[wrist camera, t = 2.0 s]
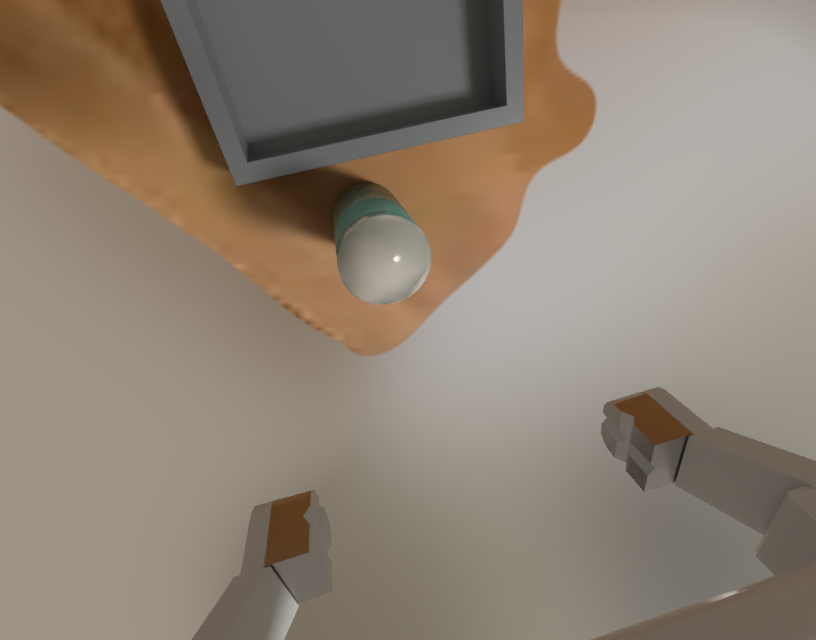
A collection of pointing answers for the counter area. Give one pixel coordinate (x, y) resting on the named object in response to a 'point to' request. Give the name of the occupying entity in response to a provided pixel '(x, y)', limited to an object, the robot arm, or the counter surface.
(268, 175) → the tray
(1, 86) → the counter surface
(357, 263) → the green rounded cylinder
